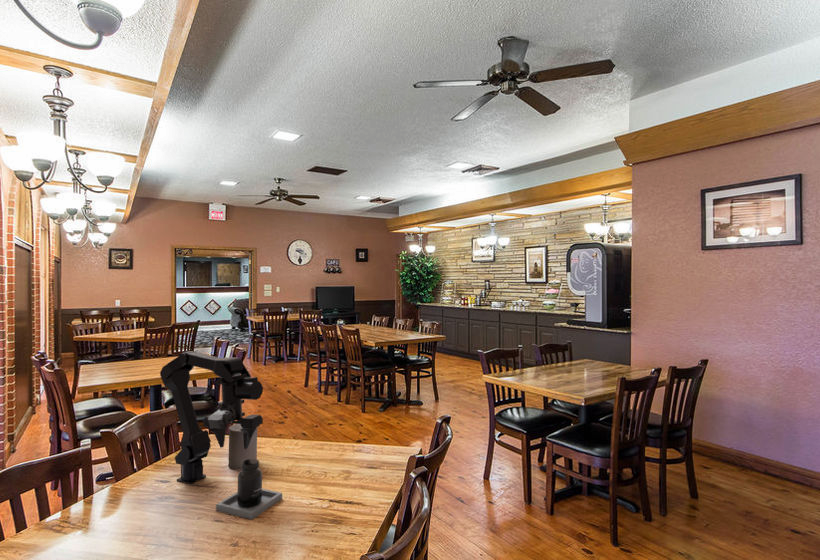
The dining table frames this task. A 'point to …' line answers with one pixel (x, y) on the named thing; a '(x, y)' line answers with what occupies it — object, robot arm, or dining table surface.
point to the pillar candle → (240, 447)
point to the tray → (250, 513)
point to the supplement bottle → (249, 484)
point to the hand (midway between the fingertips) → (233, 448)
